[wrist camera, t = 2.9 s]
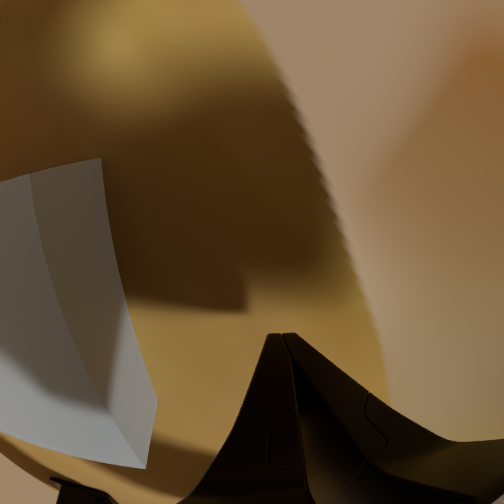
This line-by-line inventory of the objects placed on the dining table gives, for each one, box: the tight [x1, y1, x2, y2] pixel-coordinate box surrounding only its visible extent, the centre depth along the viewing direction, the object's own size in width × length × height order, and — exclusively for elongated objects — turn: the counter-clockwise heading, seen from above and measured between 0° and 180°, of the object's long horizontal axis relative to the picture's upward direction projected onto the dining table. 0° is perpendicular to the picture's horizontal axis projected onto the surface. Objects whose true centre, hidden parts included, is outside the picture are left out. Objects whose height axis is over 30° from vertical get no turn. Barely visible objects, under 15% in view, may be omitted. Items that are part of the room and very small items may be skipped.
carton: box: [0, 158, 158, 469], centre depth 8 cm, size 10×9×4 cm
